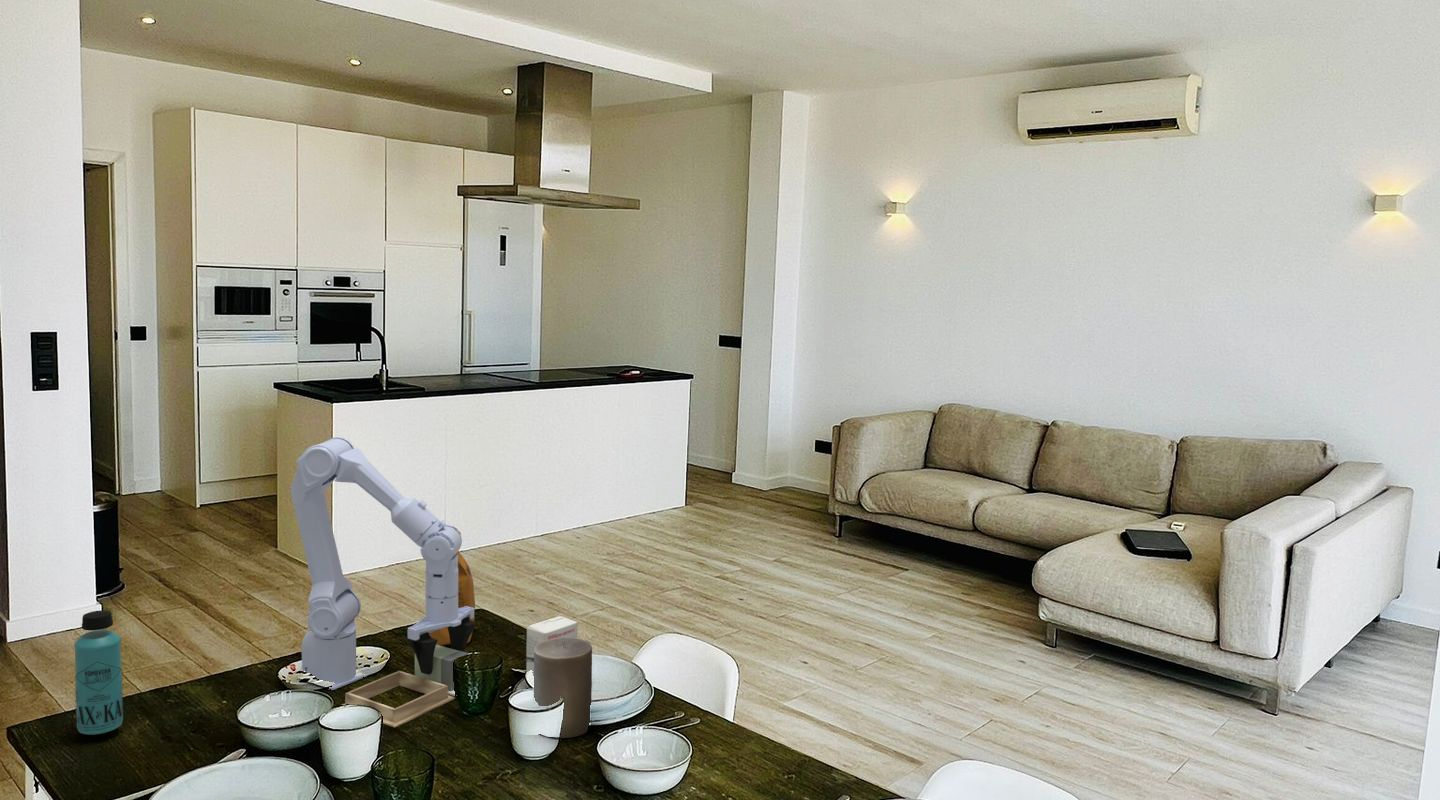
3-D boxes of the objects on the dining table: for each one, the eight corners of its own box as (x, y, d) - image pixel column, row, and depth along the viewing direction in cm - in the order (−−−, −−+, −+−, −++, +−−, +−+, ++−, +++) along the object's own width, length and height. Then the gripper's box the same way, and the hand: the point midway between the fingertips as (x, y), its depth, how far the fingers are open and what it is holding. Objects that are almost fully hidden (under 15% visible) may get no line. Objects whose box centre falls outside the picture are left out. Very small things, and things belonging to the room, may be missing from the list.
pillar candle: (603, 727, 167) (604, 640, 166) (555, 745, 160) (556, 654, 159) (568, 709, 174) (569, 625, 172) (520, 725, 167) (521, 638, 165)
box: (414, 680, 183) (414, 650, 182) (433, 672, 187) (433, 643, 186) (450, 691, 178) (450, 661, 178) (469, 682, 182) (469, 653, 182)
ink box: (543, 696, 179) (544, 633, 177) (524, 688, 181) (525, 626, 180) (578, 682, 185) (579, 620, 184) (559, 675, 188) (560, 614, 187)
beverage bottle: (71, 734, 158) (65, 612, 156) (118, 721, 163) (113, 603, 161) (83, 748, 154) (78, 623, 151) (131, 735, 159) (126, 613, 156)
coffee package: (479, 627, 212) (480, 526, 209) (472, 649, 200) (472, 541, 197) (431, 627, 211) (431, 525, 208) (420, 649, 198) (420, 541, 196)
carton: (338, 707, 171) (338, 693, 171) (399, 681, 183) (399, 668, 182) (394, 727, 164) (394, 713, 164) (454, 698, 176) (454, 685, 176)
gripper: (427, 609, 172) (428, 684, 174) (486, 588, 185) (486, 658, 187) (398, 601, 176) (399, 675, 177) (458, 581, 188) (458, 650, 190)
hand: (441, 666), depth 182 cm, fingers open, 7 cm apart
